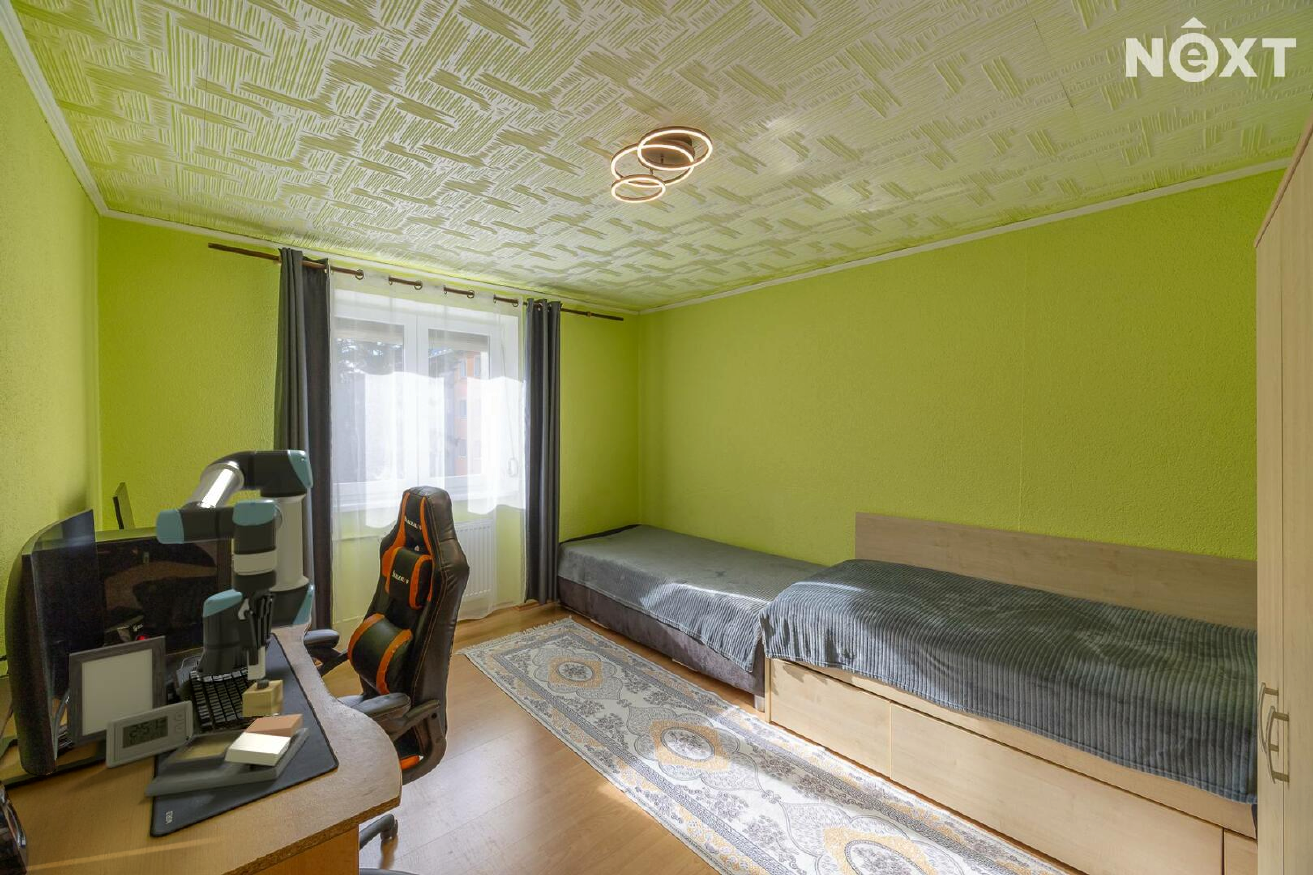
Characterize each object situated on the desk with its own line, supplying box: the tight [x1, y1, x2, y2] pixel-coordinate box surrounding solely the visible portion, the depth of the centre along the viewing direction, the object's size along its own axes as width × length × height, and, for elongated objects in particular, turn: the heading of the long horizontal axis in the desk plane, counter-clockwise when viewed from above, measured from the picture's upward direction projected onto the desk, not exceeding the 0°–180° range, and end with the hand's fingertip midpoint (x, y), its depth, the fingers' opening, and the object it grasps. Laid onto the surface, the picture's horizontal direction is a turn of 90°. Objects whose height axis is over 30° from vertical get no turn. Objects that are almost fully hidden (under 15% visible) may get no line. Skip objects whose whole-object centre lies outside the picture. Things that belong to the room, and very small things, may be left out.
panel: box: [145, 726, 310, 798], centre depth 112 cm, size 16×22×4 cm
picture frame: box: [66, 635, 167, 748], centre depth 123 cm, size 16×2×21 cm, turn 133°
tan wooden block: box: [241, 679, 284, 718], centre depth 130 cm, size 6×6×9 cm
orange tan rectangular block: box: [243, 713, 304, 738], centre depth 117 cm, size 6×9×2 cm, turn 103°
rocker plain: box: [225, 732, 291, 766], centre depth 109 cm, size 6×9×2 cm, turn 103°
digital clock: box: [105, 700, 194, 769], centre depth 116 cm, size 14×8×9 cm, turn 121°
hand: (256, 677), depth 116 cm, fingers closed
